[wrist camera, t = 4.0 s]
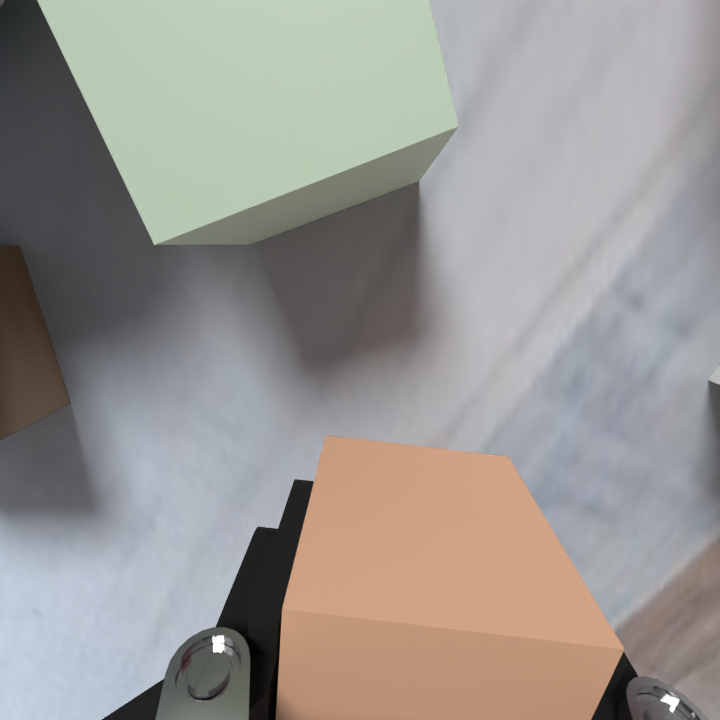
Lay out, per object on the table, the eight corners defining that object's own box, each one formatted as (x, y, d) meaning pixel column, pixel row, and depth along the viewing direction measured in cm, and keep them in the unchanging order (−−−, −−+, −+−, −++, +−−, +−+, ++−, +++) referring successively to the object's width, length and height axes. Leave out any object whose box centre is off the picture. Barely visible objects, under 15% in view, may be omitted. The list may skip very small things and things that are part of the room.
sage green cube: (171, 48, 9) (-37, -152, 5) (358, -39, 9) (339, -372, 4) (251, 244, 11) (154, 244, 6) (418, 181, 10) (458, 127, 5)
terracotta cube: (325, 435, 10) (282, 608, 5) (508, 456, 10) (625, 650, 5) (313, 575, 12) (271, 803, 7) (471, 593, 12) (535, 835, 7)
